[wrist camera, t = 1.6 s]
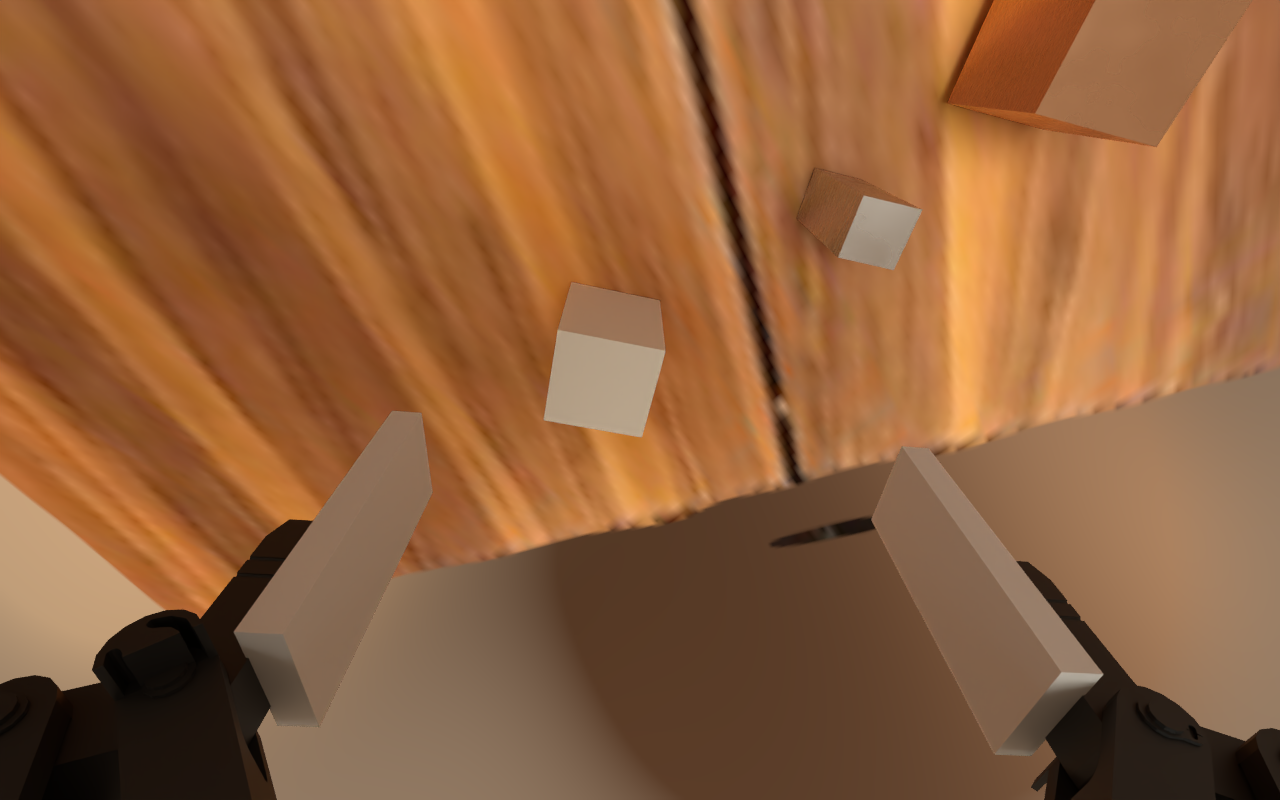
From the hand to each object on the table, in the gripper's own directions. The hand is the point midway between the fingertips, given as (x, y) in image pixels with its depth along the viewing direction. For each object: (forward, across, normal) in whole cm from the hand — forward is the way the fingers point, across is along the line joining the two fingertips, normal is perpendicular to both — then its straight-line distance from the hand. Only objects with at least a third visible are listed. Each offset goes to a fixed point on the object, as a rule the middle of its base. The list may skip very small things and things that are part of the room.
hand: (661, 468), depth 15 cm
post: (+18, +9, +4) cm, 21 cm away
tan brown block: (+18, +16, +12) cm, 27 cm away
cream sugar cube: (+18, -2, -4) cm, 19 cm away
